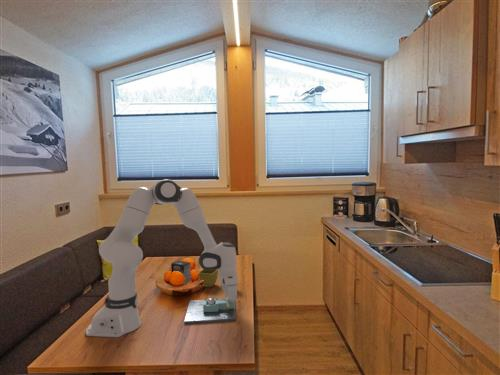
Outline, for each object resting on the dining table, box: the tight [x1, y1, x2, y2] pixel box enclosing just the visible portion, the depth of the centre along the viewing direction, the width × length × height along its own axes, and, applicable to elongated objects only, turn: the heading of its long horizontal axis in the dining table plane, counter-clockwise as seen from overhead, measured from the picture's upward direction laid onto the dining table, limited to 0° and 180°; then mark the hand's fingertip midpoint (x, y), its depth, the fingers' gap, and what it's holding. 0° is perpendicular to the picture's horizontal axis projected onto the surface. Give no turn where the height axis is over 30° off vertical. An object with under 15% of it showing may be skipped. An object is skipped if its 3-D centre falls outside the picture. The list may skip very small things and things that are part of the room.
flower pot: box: [198, 268, 219, 288], centre depth 189 cm, size 9×9×9 cm
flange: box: [203, 298, 234, 312], centre depth 157 cm, size 14×7×3 cm, turn 94°
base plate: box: [183, 297, 237, 325], centre depth 157 cm, size 23×22×6 cm
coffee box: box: [170, 260, 192, 285], centre depth 183 cm, size 9×6×16 cm
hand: (228, 302), depth 160 cm, fingers closed
